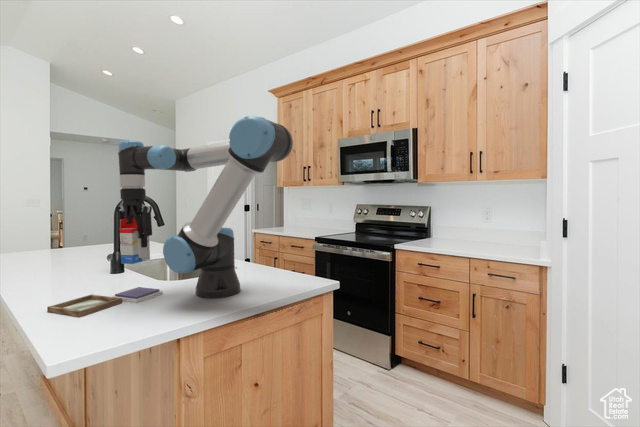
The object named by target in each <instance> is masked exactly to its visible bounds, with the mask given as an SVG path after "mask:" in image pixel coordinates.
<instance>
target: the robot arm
mask: <svg viewBox="0 0 640 427" xmlns="http://www.w3.org/2000/svg"><path fill="white" fill-rule="evenodd" d="M228 139H229V141H223V142H218V143H212V144H206V145H200V146H195V147H190V148H184V149H183V148H182V149H180V148H174V147H173V148H172V147H171V146H169V145H165V144H163V145H161V144H156V145H149V146H148V145H145V146H144V143H143V142H142V141H140V140H121V141H119V143H118V152H117V155H118V167H119V187H120V188H121V189H119V191H120V194H119V195H120V200H122V205H118V206H117V205H116V207H115V209H116V212H117V213H116V214H117V235H118V236H120V220H121V219H127V220H128V221H129V222H126V224H131V223H132V224H133V218H135V220H136V224H137V228H138V232H139V237H138V256H139V258H141V257H146V256H147V249H146V247H147V237H148V236H149V237H150V236H153V227H152V226H153V225H152V209H153V208H152V206H150V205H146V203H145V199H146V196H147V195H146V194H147V193H146V189H145V187H146V176H145V175H146V170H161V171H163V170H164V171H177V172H178V171H179V172H187V173H188V172H189V173H190V172H195V171H197V170H198V169H199V170H200V169H205V168H212V167H218V166H224V167H223V169H222V170H221V172H220V173H219V175H218V177H217V179H216V180H215V182H214V184H213V185H212V186H211V187H212V188H211V189H210V190H209V192H208V193H207V196H206V197H205V199H204V201H203V202H202V204H201V206H200V207H199V209H198V211H197V212H196V214H195V216H194V217H193V219H192V220H191V221H188V222H185V223H184V224H183V225H182V228H181V229H180V230H179V233H178V234H177V235H171V236H169V237H168V238H167V239H166V240H165V241H164V244H163V247H162V255H163V259H164V262H165V264H166V265H167V266H168V268H169V269H170V270H171V271H173V272H175V273H176V274H187V273H191V272H194V271H196V270H200V272H199V274H198V279H197V282H196V283H197V284H196V285H195V295H196V296H198V297H200V298H206V299H216V298H217V299H218V298H226V297H230V296H234V295H236V294H238V293H240V292H241V283H240V280H239V278H238V274H237V273H236V269H235V268H236V267H235V265H236V264H235V237H234V231H233V229H232V228H231V227H223V226H224V225H225V223H226V222H227V220H228V218H229V217H230V215H231V214H232V212H233V210H234V209H235V208H236V206H237V205H238V202H239V201H240V199H242V197H243V195H244V193H245V192H246V190H247V188H248V187H249V185H250V184H251V182H252V181H253V179H254V178H255V176H256V175H258V174H263V173H264V171H265V170H266V169H267V166H268V165H269V163H271V162H272V163H274V162H275V163H277V162H281V161H283V160H285V159H286V158H287V157H289V156H290V154H291V152H292V150H293V146H294V144H293V143H294V142H293V141H294V140H293V136H292V134H291V132H290V131H289V129H288V128H286V127H285V126H284V125H282V124H280V123H277V122H274V121H271V120H269V119H267V118H265V117H263V116H254V115H248V116H243V117H241V118H239V119H238V120H237V121H236V122H235V123H234V124H233V126H232V127H231V129H230V131H229V136H228ZM143 233H144V234H143Z"/></svg>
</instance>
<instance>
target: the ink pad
mask: <svg viewBox="0 0 640 427" xmlns="http://www.w3.org/2000/svg"><path fill="white" fill-rule="evenodd" d="M163 292H164V291H163V290H160V289H159V288H151V287H140V286H138V287H134V288H131V289H128V290H124V291H121V292H118V293H115V294H114V295H113V296H111V297H116V298H122V302H128V303H134V304H137V303H141V302H143V301H146V300H149V299H152V298H155V297H158V296H160V295H163Z"/></svg>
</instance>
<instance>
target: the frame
mask: <svg viewBox="0 0 640 427" xmlns="http://www.w3.org/2000/svg"><path fill="white" fill-rule="evenodd" d="M120 304H121V305H122V304H123V301H122V298H116V297H112V296H107V295H100V294H92V293H91V294H89V295H84V296H81V297H78V298H73V299H70V300H68V301H63V302H60V303H57V304H54V305H49V306H47V307H46V309H47V310H46V311H47V313H53V314H56V315H57V314H58V315H62V316H63V315H64V316H72V317H75V316H76V318H81V317H84V316H88V315H91V314H94V313H97V312H99V311H102V310H106V309H108V308H111V307H114V306H117V305H120Z"/></svg>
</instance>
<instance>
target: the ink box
mask: <svg viewBox="0 0 640 427" xmlns="http://www.w3.org/2000/svg"><path fill="white" fill-rule="evenodd" d="M126 222H129V221H128V220H127V219H121V220H120V235H119V241H120V242H119V243H120V247H119V248H120V260H121V261H120V263H121V264H126V265H134V264H138V263H141V262H147V261H149V260H151V256H150V255H151V250H150V246H151V245H150V236H148V237H147V247H146V249H147V256H146V257H141V258H139V256H138V237H139V232H138V228H137V224H136V220H135V218H133V224H132V223H131V224H126ZM143 234H144V233H143Z"/></svg>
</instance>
